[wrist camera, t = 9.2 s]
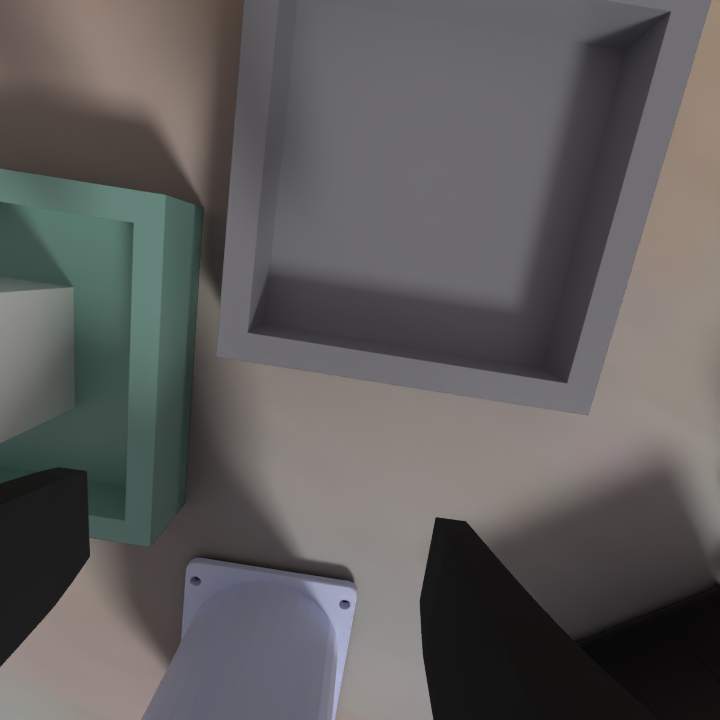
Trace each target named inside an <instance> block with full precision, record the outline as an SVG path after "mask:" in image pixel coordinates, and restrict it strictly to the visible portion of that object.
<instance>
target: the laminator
mask: <svg viewBox="0 0 720 720" xmlns="http://www.w3.org/2000/svg"><path fill="white" fill-rule="evenodd" d="M576 643H577V644H578V645H579V646H580V647H581V648H582V649H583V650H584V651H585V652H586V653H587V654H588V655H589V656H590V657H591V658H592V659H593V660H594V661H595V662H596V663H597V664H598V665H599V666H600V667H601V668H602V669H603V670H604V671H605V672H606V673H607V674H609V675H610V676H611V677H612V678H613V679H614V680H615V681H616V682H617V683H618V684H619V685H621V686H622V687H623V688H624V689H625V690H626V691H627V692H628V693H630V694H631V695H632V696H633V697H634V698H635V699H636V700H637V701H638V702H640V703H641V704H642V705H643V706H644V707H645V708H646V709H647V710H648V711H650V712H651V713H652V714H653V715H654V716H655V717H656V718H657V719H658V720H720V584H716V585H715V587H713V588H712V589H711V590H708V591H706V592H704V593H701V594H699V595H696V596H694V597H691V598H688V599H686V600H683V601H681V602H678V603H676V604H673V605H670V606H668V607H665V608H663V609H660V610H658V611H655V612H652V613H650V614H647V615H645V616H642V617H639V618H637V619H634V620H632V621H629V622H627V623H624V624H622V625H619V626H617V627H614V628H612V629H609V630H607V631H604V632H602V633H599V634H596V635H594V636H591V637H588V638H586V639H583V640H580V641H578V642H576Z"/></svg>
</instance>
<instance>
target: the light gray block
mask: <svg viewBox="0 0 720 720" xmlns="http://www.w3.org/2000/svg"><path fill="white" fill-rule="evenodd" d="M73 408H75V379H74V287H69V286H62V285H56V284H49V283H42V282H36V281H29V280H22V279H16V278H9V277H2V276H0V443H2V442H4V441H6V440H8V439H10V438H12V437H14V436H16V435H19V434H21V433H23V432H25V431H27V430H29V429H31V428H33V427H35V426H37V425H39V424H42V423H44V422H46V421H48V420H50V419H52V418H54V417H56V416H58V415H60V414H63V413H65V412H67V411H69V410H71V409H73Z"/></svg>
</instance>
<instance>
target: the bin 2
mask: <svg viewBox="0 0 720 720" xmlns="http://www.w3.org/2000/svg"><path fill="white" fill-rule="evenodd" d="M710 3H711V0H244V7H243V20H242V33H241V46H240V58H239V71H238V84H237V97H236V110H235V123H234V135H233V148H232V161H231V174H230V187H229V200H228V213H227V225H226V238H225V251H224V264H223V277H222V290H221V302H220V315H219V328H218V341H217V354H216V357H222V358H228V359H235V360H241V361H247V362H254V363H260V364H266V365H272V366H279V367H285V368H291V369H298V370H304V371H310V372H317V373H323V374H329V375H336V376H342V377H348V378H355V379H361V380H367V381H374V382H380V383H386V384H393V385H399V386H405V387H412V388H418V389H424V390H431V391H437V392H443V393H450V394H456V395H462V396H469V397H475V398H481V399H487V400H494V401H500V402H506V403H513V404H519V405H525V406H532V407H538V408H544V409H551V410H557V411H563V412H570V413H576V414H582V415H588V414H589V411H590V407H591V404H592V401H593V397H594V394H595V390H596V387H597V384H598V380H599V377H600V374H601V370H602V367H603V364H604V360H605V357H606V353H607V350H608V347H609V343H610V340H611V337H612V333H613V330H614V326H615V323H616V320H617V316H618V313H619V310H620V306H621V303H622V299H623V296H624V293H625V289H626V286H627V283H628V279H629V276H630V273H631V269H632V266H633V262H634V259H635V256H636V252H637V249H638V246H639V242H640V239H641V235H642V232H643V229H644V225H645V222H646V219H647V215H648V212H649V208H650V205H651V202H652V198H653V195H654V192H655V188H656V185H657V182H658V178H659V175H660V171H661V168H662V165H663V161H664V158H665V155H666V151H667V148H668V144H669V141H670V138H671V134H672V131H673V128H674V124H675V121H676V117H677V114H678V111H679V107H680V104H681V101H682V97H683V94H684V91H685V87H686V84H687V80H688V77H689V74H690V70H691V67H692V64H693V60H694V57H695V53H696V50H697V47H698V43H699V40H700V37H701V33H702V30H703V26H704V23H705V20H706V16H707V13H708V10H709V6H710Z"/></svg>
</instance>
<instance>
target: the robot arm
mask: <svg viewBox="0 0 720 720" xmlns="http://www.w3.org/2000/svg"><path fill="white" fill-rule="evenodd" d="M89 557H90V545H89V514H88V484H87V471H84V470H76V469H68V468H61V467H56V468H52V469H48V470H43V471H40V472H36V473H33V474H29V475H26V476H22V477H19V478H16V479H13V480H10V481H6V482H3V483H0V667H1V665H2V664H3V663H4V662H5V661H6V660H7V659H8V658H9V657H10V656H11V654H12V653H13V652H14V651H15V650H16V649H17V648H18V647H19V646H20V644H21V643H22V642H23V641H24V640H25V639H26V638H27V637H28V635H29V634H30V633H31V632H32V631H33V630H34V629H35V628H36V627H37V625H38V624H39V623H40V622H41V621H42V620H43V619H44V618H45V616H46V615H47V614H48V613H49V612H50V611H51V609H52V608H53V607H54V606H55V605H56V603H57V602H58V601H59V599H60V598H61V597H62V595H63V594H64V593H65V591H66V590H67V589H68V587H69V586H70V585H71V583H72V582H73V580H74V579H75V577H76V576H77V574H78V573H79V572H80V570H81V569H82V567H83V566H84V564H85V563H86V561H87V560H88V559H89ZM195 576H196V577H198V578H200V580H198V579H196V578H195ZM356 599H357V587H356V585H355V584H354V583H352V582H350V581H345V580H339V579H332V578H326V577H320V576H313V575H307V574H300V573H294V572H288V571H281V570H275V569H269V568H262V567H256V566H249V565H243V564H237V563H230V562H224V561H218V560H211V559H205V558H194V559H192V560H191V561H190V562H189V564H188V566H187V568H186V576H185V590H184V605H183V619H182V634H181V643H180V645H179V647H178V649H177V651H176V653H175V655H174V657H173V659H172V661H171V663H170V665H169V667H168V669H167V671H166V673H165V675H164V677H163V678H162V680H161V682H160V684H159V686H158V688H157V690H156V692H155V694H154V696H153V698H152V700H151V702H150V704H149V706H148V708H147V710H146V712H145V714H144V716H143V718H142V720H335V715H336V710H337V704H338V699H339V693H340V688H341V682H342V677H343V671H344V666H345V660H346V655H347V649H348V644H349V638H350V632H351V627H352V621H353V616H354V610H355V605H356ZM342 600H347V601H349V602H347V603H344V602H342ZM420 615H421V633H422V648H423V658H424V665H425V671H426V677H427V683H428V689H429V696H430V702H431V708H432V714H433V719H434V720H658V719H657V718H656V717H655V716H654V715H653V714H652V713H651V712H650V711H648V710H647V709H646V708H645V707H644V706H643V705H642V704H641V703H640V702H638V701H637V700H636V699H635V698H634V697H633V696H632V695H631V694H630V693H628V692H627V691H626V690H625V689H624V688H623V687H622V686H621V685H619V684H618V683H617V682H616V681H615V680H614V679H613V678H612V677H611V676H610V675H609V674H607V673H606V672H605V671H604V670H603V669H602V668H601V667H600V666H599V665H598V664H597V663H596V662H595V661H594V660H593V659H592V658H591V657H590V656H589V655H588V654H587V653H586V652H585V651H584V650H583V649H582V648H581V647H580V646H579V645H578V644H577V643H576V642H575V641H574V640H573V639H572V638H571V637H570V636H569V635H568V634H567V633H566V632H565V631H564V630H563V629H562V628H561V627H560V626H559V625H558V624H557V623H556V622H555V621H554V620H553V619H552V618H551V617H550V616H549V615H548V614H547V613H546V612H545V611H544V610H543V608H542V607H541V606H540V605H539V604H538V603H537V602H536V601H535V600H534V599H533V598H532V597H531V596H530V594H529V593H528V592H527V591H526V590H525V589H524V588H523V587H522V586H521V584H520V583H519V582H518V581H517V580H516V579H515V578H514V577H513V575H512V574H511V573H510V572H509V571H508V570H507V569H506V567H505V566H504V565H503V564H502V563H501V562H500V560H499V559H498V558H497V557H496V556H495V555H494V553H493V552H492V551H491V550H490V549H489V548H488V546H487V545H486V544H485V543H484V542H483V541H482V539H481V538H480V537H479V536H478V535H477V534H476V532H475V531H474V530H473V529H472V528H471V527H470V526H469V525H468V523H467V522H466V521H460V520H452V519H445V518H437V517H436V519H435V524H434V529H433V534H432V540H431V545H430V550H429V555H428V560H427V565H426V571H425V576H424V581H423V586H422V591H421V597H420Z"/></svg>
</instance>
